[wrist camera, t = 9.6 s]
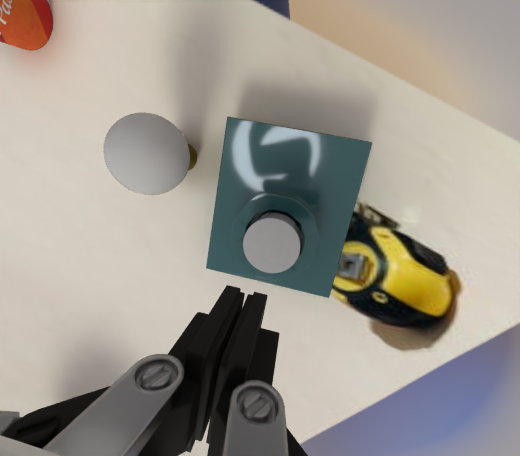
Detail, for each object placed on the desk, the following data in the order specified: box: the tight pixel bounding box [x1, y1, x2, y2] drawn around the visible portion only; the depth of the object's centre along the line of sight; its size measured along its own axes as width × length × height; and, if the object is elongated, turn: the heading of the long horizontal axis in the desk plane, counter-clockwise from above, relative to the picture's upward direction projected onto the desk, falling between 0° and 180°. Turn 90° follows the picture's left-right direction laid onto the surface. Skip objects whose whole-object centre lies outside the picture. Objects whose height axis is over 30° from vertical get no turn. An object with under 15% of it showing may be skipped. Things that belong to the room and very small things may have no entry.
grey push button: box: [243, 213, 301, 273], centre depth 22 cm, size 4×4×2 cm
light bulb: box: [104, 113, 197, 195], centre depth 22 cm, size 6×6×10 cm
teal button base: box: [206, 117, 372, 298], centre depth 24 cm, size 14×12×5 cm
